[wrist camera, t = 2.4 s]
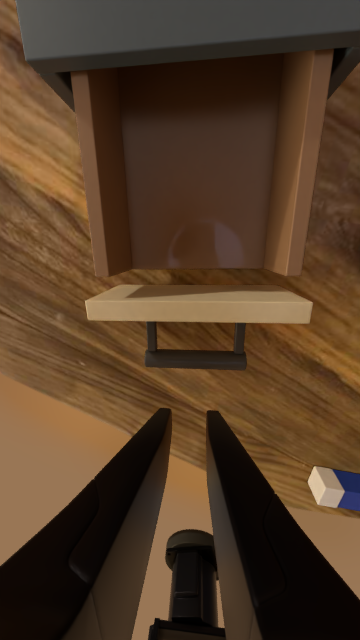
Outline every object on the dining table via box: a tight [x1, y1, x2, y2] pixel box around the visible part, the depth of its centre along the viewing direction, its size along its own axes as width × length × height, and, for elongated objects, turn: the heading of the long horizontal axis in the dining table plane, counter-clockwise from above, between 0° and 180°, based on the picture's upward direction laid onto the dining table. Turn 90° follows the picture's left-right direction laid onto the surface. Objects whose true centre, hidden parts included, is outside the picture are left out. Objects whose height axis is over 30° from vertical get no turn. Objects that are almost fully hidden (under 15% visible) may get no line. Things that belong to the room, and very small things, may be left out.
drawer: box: [70, 49, 334, 370], centre depth 13 cm, size 23×12×6 cm, turn 1°
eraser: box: [308, 466, 360, 511], centre depth 22 cm, size 7×2×2 cm, turn 82°
